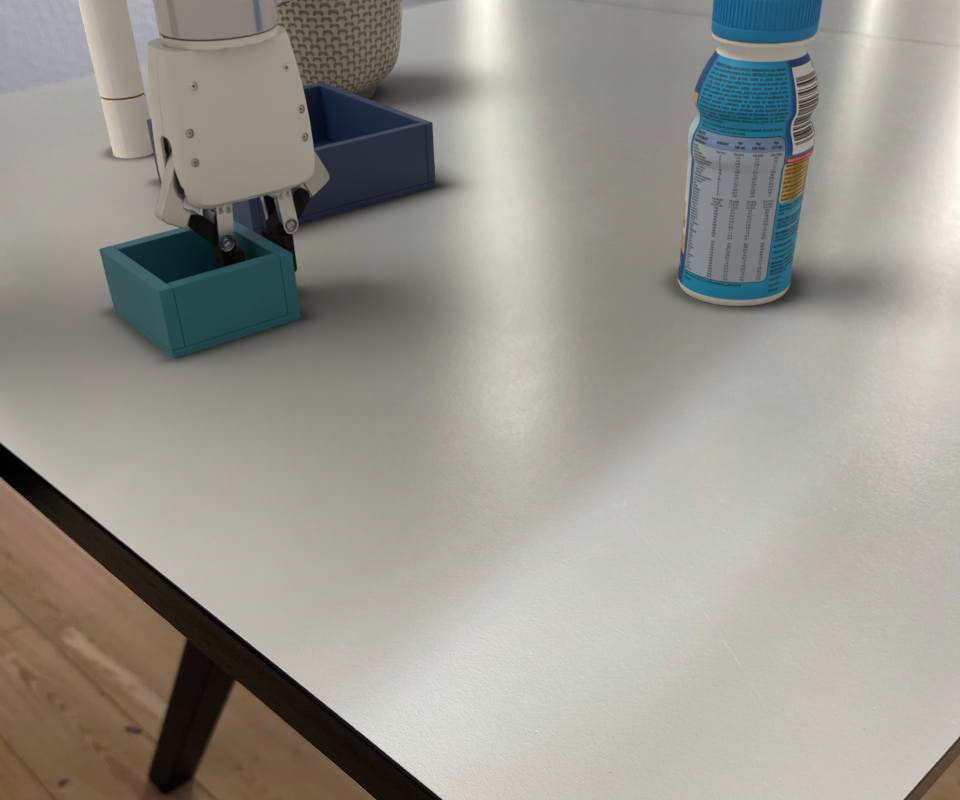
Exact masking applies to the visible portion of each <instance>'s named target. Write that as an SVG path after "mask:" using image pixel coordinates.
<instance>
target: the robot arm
mask: <svg viewBox="0 0 960 800" xmlns="http://www.w3.org/2000/svg"><path fill="white" fill-rule="evenodd" d="M289 1H290V0H152V5H153V9H154V14H155V20H156V25H157V31H158V36H159V38H155V39H151V40H149V41H148V42H147V83H148V84H147V85H148V98H149V112H150V119H151V120H152V129H153V137H154V144H155V151H156V157H157V164H158V169H159V174H160V178H161V182H162V184H161V183H160V188H159V192H158V196H157V200H156V204H155V209H154V215H155V217H156V218H157V219H158V220H160V221H161V222H163V223H165V224H166V225H169V226H173V227H176V228H183V229H186V230H190V231H193V232H195V233H196V234H198V235H199V236H200V237H202V238H203V239H205V240H206V241H208V242H209V243H211V247H212V253H213V258H214V264H215V269H219V268H223V267H226V266H230V265H233V264H237V263H240V262H244V261H246V260H245V254H244V251H243V249H241V248H239V247H238V246H236V240H235V235H234V222H233V209H232V204H233V203H237V202H241V201H245V200H249V199H253V198H257V197H261V201H262V205H263V209H264V213H265V218H266V225H264V226H262V230H261V236H262V237H264V238H266V239H268V240H269V241H271V242H273V243H275V244H276V245H278V246H280V247H282V248H283V249H285V250H287V251H289V252H291V253H292V256H293V263H294V270H295V273H296V272H297V271H298V264H297V256H296V250H295V248H296V247H295V241H294V234H295V233H296V232H298V229H299V226H300V225H298V219H299V218H300V216H301V214H302V213H303V211H304V209H305V208H306V206H307V204H308V203H309V200H310V197H311V196H314V195H315V194H316V193H317V192H318V191H319V190H320V189H321V188H322V187H323V186H324V185H325V184H326V183H327V182H328V181H329V173H328V171H327V170H326V168H325V166H324V165H323V163H322V162H321V160H320V158H319V157H318V155H317V154H316V152H315V151H314V147H313V139H312V132H311V126H310V120H309V114H308V109H307V104H306V99H305V94H304V90H303V85H302V81H301V77H300V74H299V70H298V66H297V63H296V59H295V56H294V53H293V50H292V46H291V43H290V40H289V38H288V35H287V32H286V29H285V28H283V27H281V26H279V25H277V20H278V19H279V16H278V8H277V7H279V6H280V5H281V4H283V3H289ZM166 158H167V159H166ZM185 195H186V198H185V197H184V196H185ZM185 199H186V200H187V203H188V204H189V205H190V206H191V207H193V208H196V209H199V212H197V211H196V210H193V209H188V208H185V207H184V201H185Z"/></svg>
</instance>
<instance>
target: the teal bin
mask: <svg viewBox="0 0 960 800" xmlns="http://www.w3.org/2000/svg"><path fill="white" fill-rule="evenodd" d="M233 222H234V235H235V240H236V246H238V247H239V248H241V249H243V251H244V254H245V260H246V261H244V262H240V263H237V264H233V265H230V266H226V267H223V268H219V269H215V264H214V258H213V253H212V247H211V243H209V242H208V241H206V240H205V239H203V238H202V237H200V236H199V235H198V234H196V233H195V232H193V231H190V230H186V229H183V228H179V227H176V228H173V229H170V230H165V231H162V232H159V233H154V234H150V235H146V236H143V237H139V238H135V239H132V240H128V241H124V242H119V243H117V244H113V245H109V246H108V245H107V246H105V247H101V248H99V255H100V257H101V263H102V267H103V271H104V274H105V279H106V282H107V287H108V291H109V294H110V298H111V302H112V306H113V311H114V314H115V315H117V316H118V317H119V318H121V319H122V320H123V321H125V322H126V323H127V324H128V325H130V326H131V327H132V328H134V329H135V330H136V331H137V332H138V333H140V334H141V335H142V336H144V337H145V338H146V339H147V340H149V341H150V342H151V343H152V344H154V345H155V346H157V348H159V349H160V350H161V351H163V352H164V353H166V354H167V356H169V357H170V358H172V359H173V360H174V359H178V358H181V357H184V356H187V355H191V354H193V353H197V352H199V351H204V350H206V349H209V348H212V347H216V346H219V345H222V344H225V343H228V342H231V341H234V340H237V339H241V338H243V337H248V336H250V335H254V334H256V333H260V332H263V331H266V330H269V329H273V328H275V327H278V326H282V325H285V324H287V323H292V322H294V321H298V320H300V319H301V318H302V316H301V308H300V307H301V306H300V300H299V293H298V286H297V278H296V272H295V270H294V263H293V256H292V253H291V252H289V251H287V250H285V249H283V248H282V247H280V246H278V245H276V244H275V243H273V242H271V241H269V240H268V239H266V238H264V237H262V236H261V235H259V234H257V233H255V232H253V231H252V230H250V229H248V228H246V227H245V226H243V225H241V224H239V223H238V222H236V221H234V220H233Z"/></svg>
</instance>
